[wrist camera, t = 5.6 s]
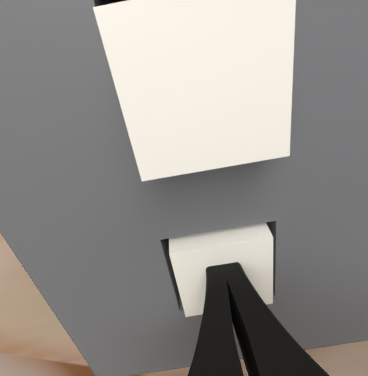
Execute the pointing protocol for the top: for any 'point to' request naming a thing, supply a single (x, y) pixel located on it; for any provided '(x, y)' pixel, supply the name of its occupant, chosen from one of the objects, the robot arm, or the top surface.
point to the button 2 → (222, 261)
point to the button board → (178, 190)
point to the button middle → (201, 80)
